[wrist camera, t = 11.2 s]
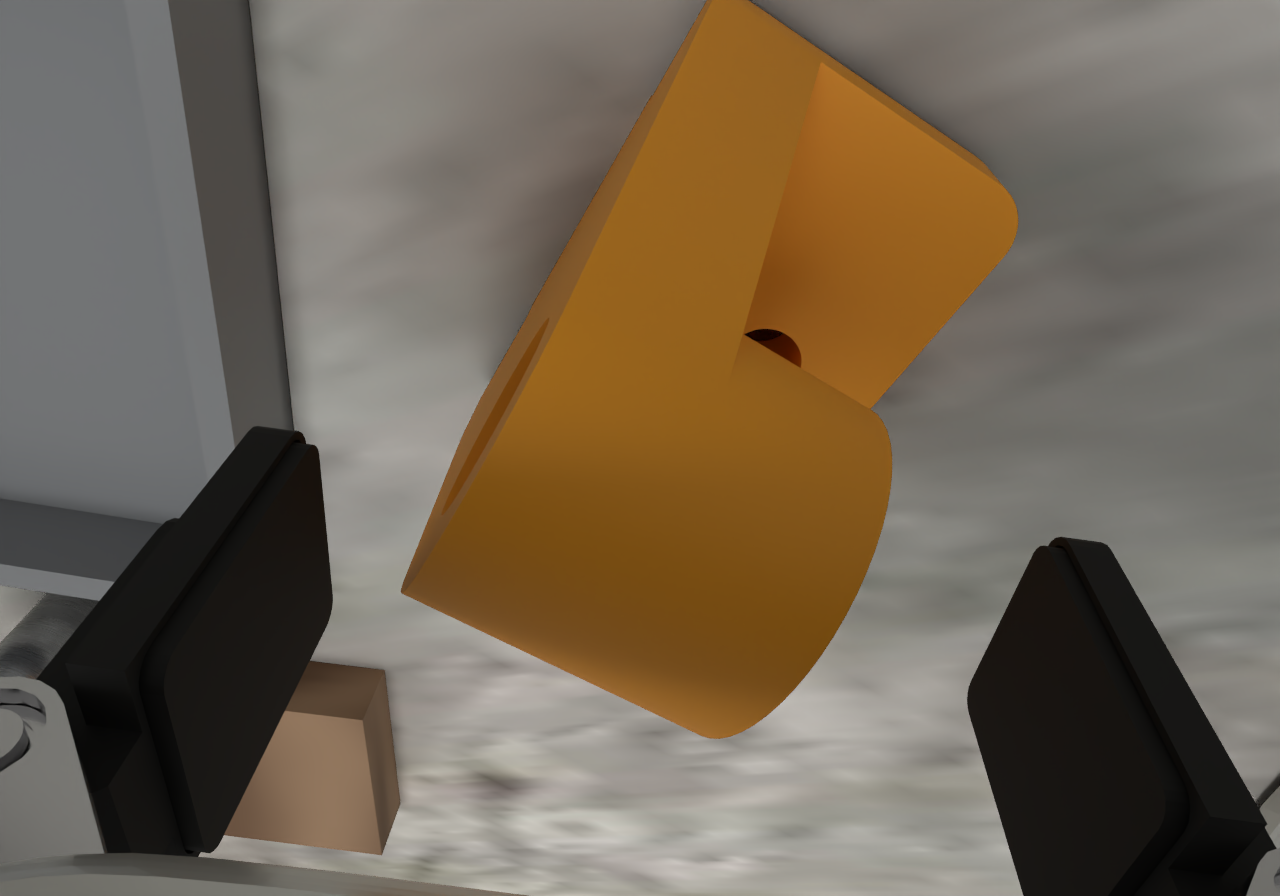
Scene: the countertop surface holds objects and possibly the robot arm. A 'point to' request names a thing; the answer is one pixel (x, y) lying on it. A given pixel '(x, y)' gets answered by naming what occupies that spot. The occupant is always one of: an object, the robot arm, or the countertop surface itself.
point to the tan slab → (327, 766)
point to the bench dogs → (42, 634)
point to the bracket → (713, 383)
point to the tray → (127, 276)
